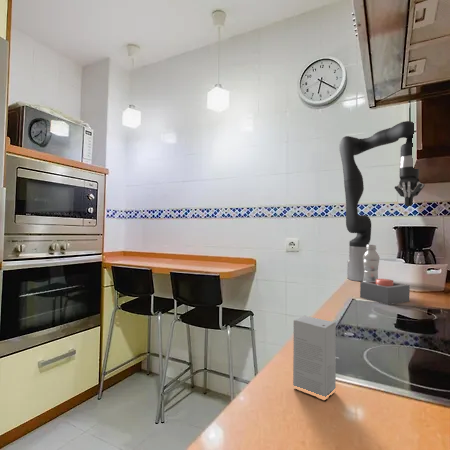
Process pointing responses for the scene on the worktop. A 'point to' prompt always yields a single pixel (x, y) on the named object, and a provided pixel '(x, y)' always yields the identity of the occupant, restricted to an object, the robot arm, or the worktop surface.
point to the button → (384, 282)
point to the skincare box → (314, 355)
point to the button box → (385, 292)
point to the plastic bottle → (370, 263)
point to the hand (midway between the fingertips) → (408, 206)
